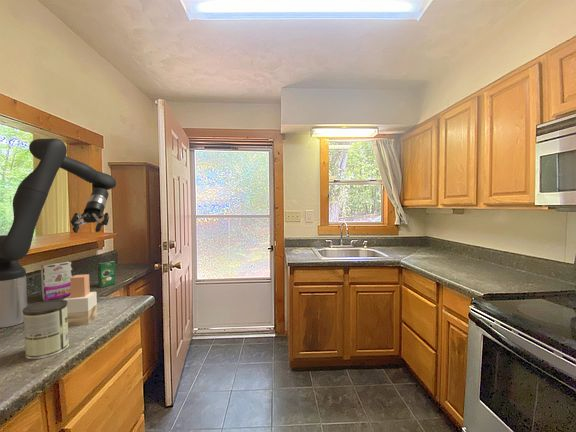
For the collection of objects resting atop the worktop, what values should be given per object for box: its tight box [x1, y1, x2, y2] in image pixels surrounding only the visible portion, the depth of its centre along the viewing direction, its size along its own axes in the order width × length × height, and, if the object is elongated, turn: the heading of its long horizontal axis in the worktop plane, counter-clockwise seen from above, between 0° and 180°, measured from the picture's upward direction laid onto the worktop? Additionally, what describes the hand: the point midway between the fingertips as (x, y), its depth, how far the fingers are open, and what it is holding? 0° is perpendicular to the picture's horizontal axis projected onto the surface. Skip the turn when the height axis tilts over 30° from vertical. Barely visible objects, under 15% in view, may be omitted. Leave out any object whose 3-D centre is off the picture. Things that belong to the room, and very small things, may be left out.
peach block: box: [70, 273, 91, 298], centre depth 107 cm, size 4×4×8 cm
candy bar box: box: [40, 261, 74, 302], centre depth 135 cm, size 11×5×16 cm, turn 143°
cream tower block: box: [62, 291, 98, 313], centre depth 107 cm, size 8×8×5 cm
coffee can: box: [23, 299, 70, 360], centre depth 85 cm, size 10×10×14 cm
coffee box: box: [97, 260, 116, 288], centre depth 154 cm, size 8×3×13 cm, turn 153°
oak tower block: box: [67, 303, 99, 327], centre depth 107 cm, size 8×8×5 cm
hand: (86, 231), depth 125 cm, fingers open, 8 cm apart
